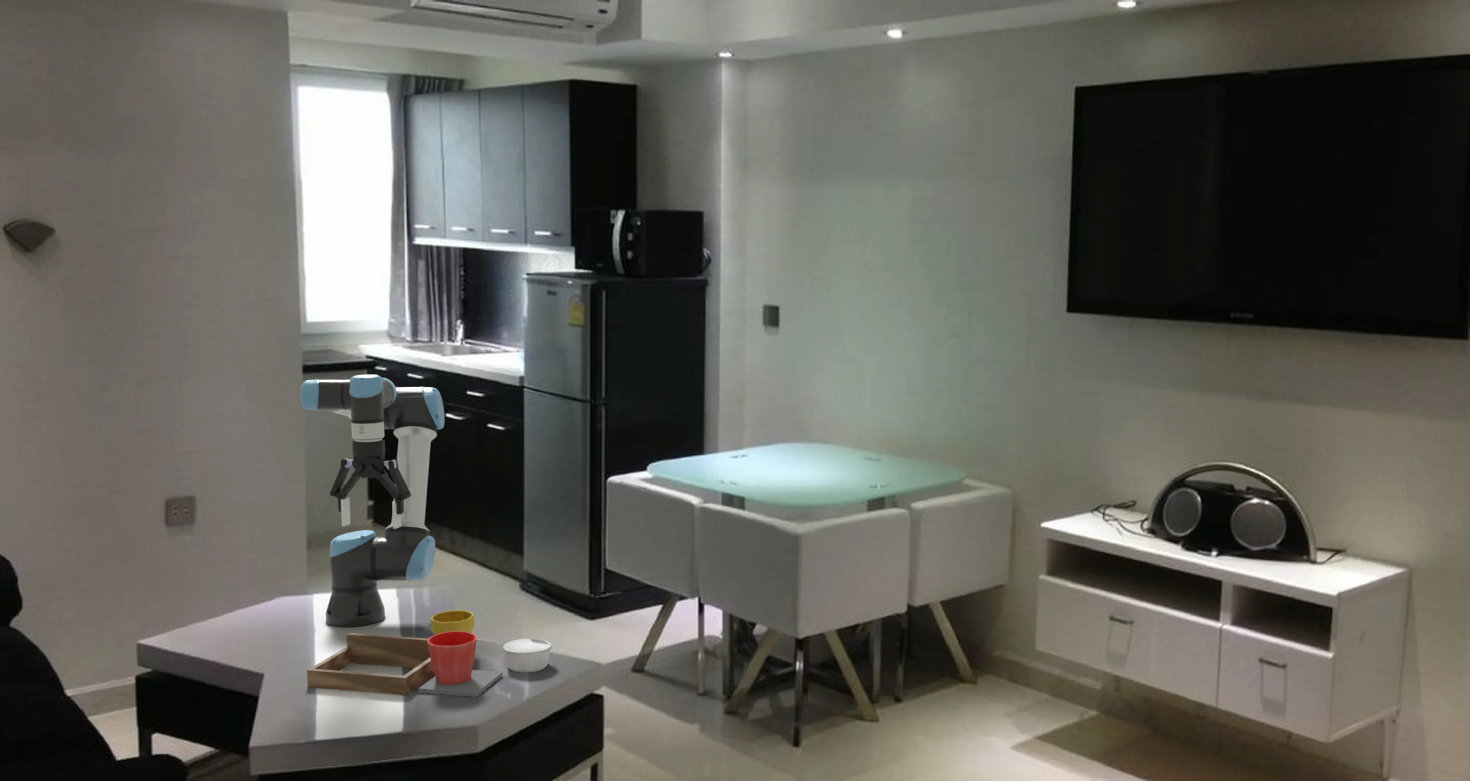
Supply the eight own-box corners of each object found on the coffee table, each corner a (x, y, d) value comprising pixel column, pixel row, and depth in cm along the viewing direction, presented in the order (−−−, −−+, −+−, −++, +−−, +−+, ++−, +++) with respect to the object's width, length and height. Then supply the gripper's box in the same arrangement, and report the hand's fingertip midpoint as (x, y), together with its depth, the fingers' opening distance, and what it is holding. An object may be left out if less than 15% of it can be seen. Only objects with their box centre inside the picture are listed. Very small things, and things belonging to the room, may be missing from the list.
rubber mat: (446, 671, 295) (446, 667, 295) (502, 676, 292) (502, 672, 292) (418, 692, 282) (418, 688, 282) (476, 697, 278) (476, 692, 278)
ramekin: (561, 663, 301) (560, 642, 301) (531, 677, 292) (531, 655, 291) (524, 656, 307) (523, 635, 306) (494, 669, 297) (493, 647, 296)
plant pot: (422, 658, 305) (421, 618, 304) (449, 645, 315) (448, 607, 313) (457, 664, 301) (456, 624, 300) (483, 651, 310) (482, 612, 309)
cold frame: (350, 661, 303) (349, 632, 303) (443, 668, 298) (442, 639, 297) (307, 687, 286) (306, 657, 285) (406, 695, 280) (405, 664, 279)
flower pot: (466, 688, 281) (465, 646, 280) (420, 685, 283) (419, 643, 282) (485, 673, 291) (484, 632, 290) (440, 670, 293) (439, 629, 292)
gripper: (313, 440, 302) (316, 527, 305) (408, 443, 297) (411, 531, 299) (329, 435, 310) (333, 520, 312) (423, 438, 304) (426, 525, 306)
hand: (371, 526), depth 306 cm, fingers open, 13 cm apart
